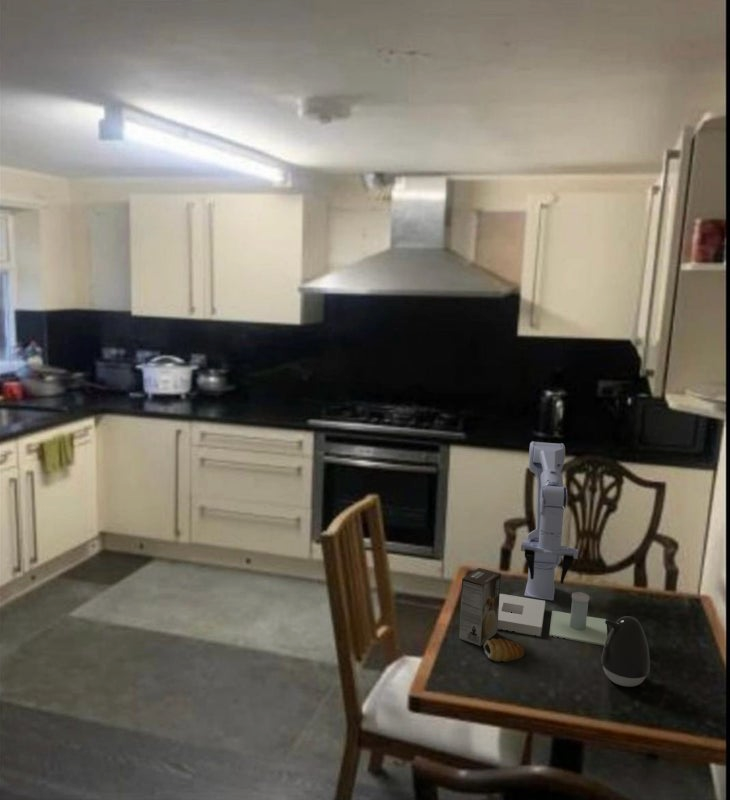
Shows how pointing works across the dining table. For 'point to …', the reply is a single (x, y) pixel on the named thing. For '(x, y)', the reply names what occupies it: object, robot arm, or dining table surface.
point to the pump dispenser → (626, 652)
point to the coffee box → (479, 606)
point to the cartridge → (579, 610)
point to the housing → (521, 614)
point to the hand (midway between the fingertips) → (546, 580)
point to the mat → (591, 634)
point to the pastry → (503, 650)
